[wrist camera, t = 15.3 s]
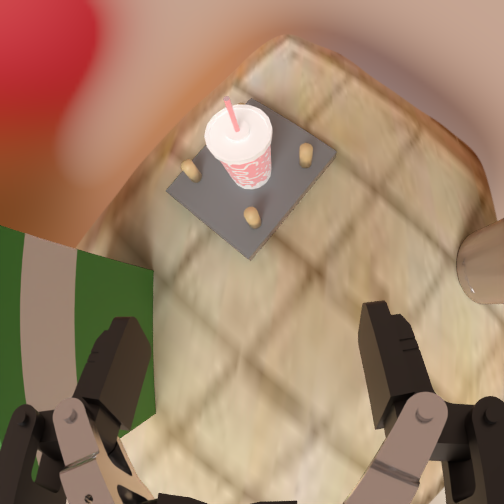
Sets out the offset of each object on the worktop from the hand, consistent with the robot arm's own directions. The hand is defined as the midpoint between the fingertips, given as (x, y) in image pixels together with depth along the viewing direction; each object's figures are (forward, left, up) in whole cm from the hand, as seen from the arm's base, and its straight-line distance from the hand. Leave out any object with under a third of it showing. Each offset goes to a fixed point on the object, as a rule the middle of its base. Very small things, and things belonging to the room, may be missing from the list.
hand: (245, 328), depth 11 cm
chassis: (-1, -16, -24) cm, 29 cm away
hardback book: (+19, -1, -24) cm, 31 cm away
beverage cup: (-1, -16, -23) cm, 28 cm away
